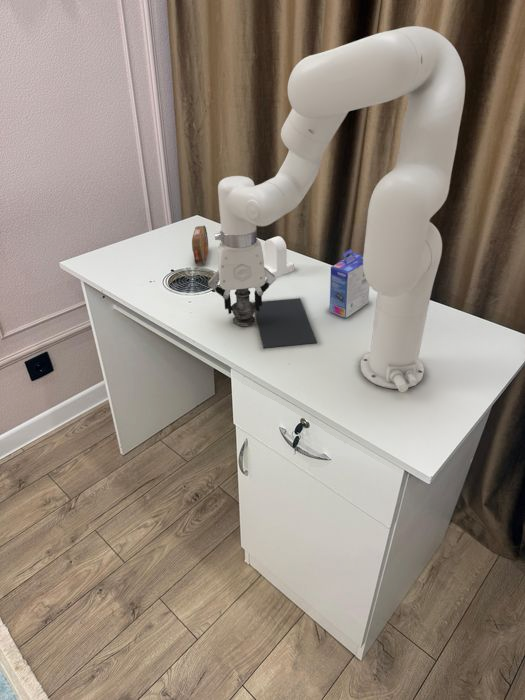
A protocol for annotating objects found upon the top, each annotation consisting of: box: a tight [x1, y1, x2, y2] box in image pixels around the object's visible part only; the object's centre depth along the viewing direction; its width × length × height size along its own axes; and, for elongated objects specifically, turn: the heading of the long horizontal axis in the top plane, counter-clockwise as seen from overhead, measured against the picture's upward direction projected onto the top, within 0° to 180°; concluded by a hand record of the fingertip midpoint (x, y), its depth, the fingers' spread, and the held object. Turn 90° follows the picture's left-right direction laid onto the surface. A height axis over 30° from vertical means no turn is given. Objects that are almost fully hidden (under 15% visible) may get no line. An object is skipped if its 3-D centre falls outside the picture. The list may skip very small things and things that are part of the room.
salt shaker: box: [231, 288, 256, 327], centre depth 118 cm, size 6×6×12 cm
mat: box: [252, 297, 318, 349], centre depth 121 cm, size 20×12×1 cm, turn 7°
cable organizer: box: [263, 235, 295, 281], centre depth 139 cm, size 5×10×10 cm, turn 128°
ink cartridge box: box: [329, 248, 371, 319], centre depth 121 cm, size 10×6×14 cm, turn 137°
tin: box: [191, 225, 209, 265], centre depth 148 cm, size 15×3×8 cm, turn 179°
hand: (243, 309), depth 120 cm, fingers closed on salt shaker, 5 cm apart
